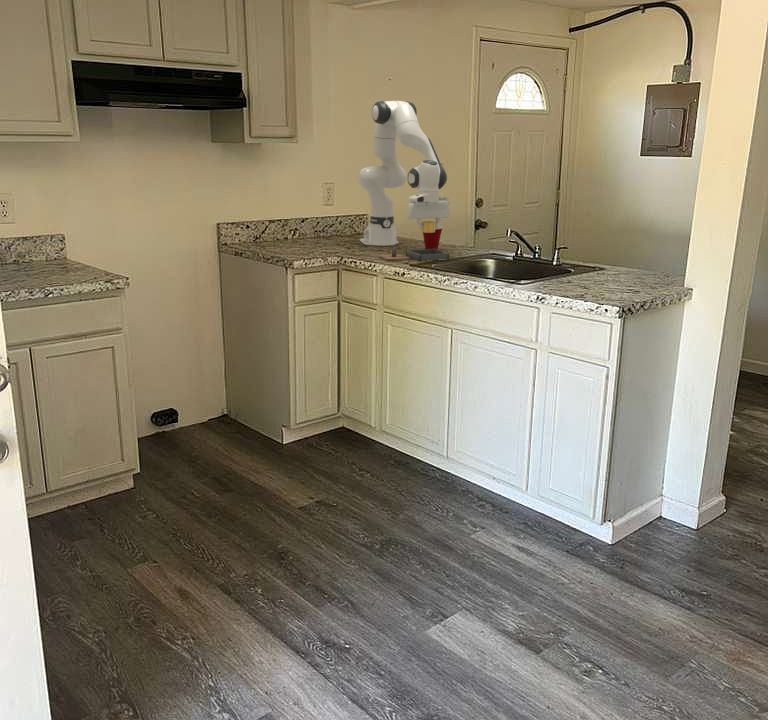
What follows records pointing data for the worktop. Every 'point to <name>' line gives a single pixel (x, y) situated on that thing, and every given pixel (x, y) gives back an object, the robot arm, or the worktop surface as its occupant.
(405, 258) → the wooden peg stand
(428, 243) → the plastic cup
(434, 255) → the tray
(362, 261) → the worktop surface
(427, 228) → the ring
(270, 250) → the worktop surface
